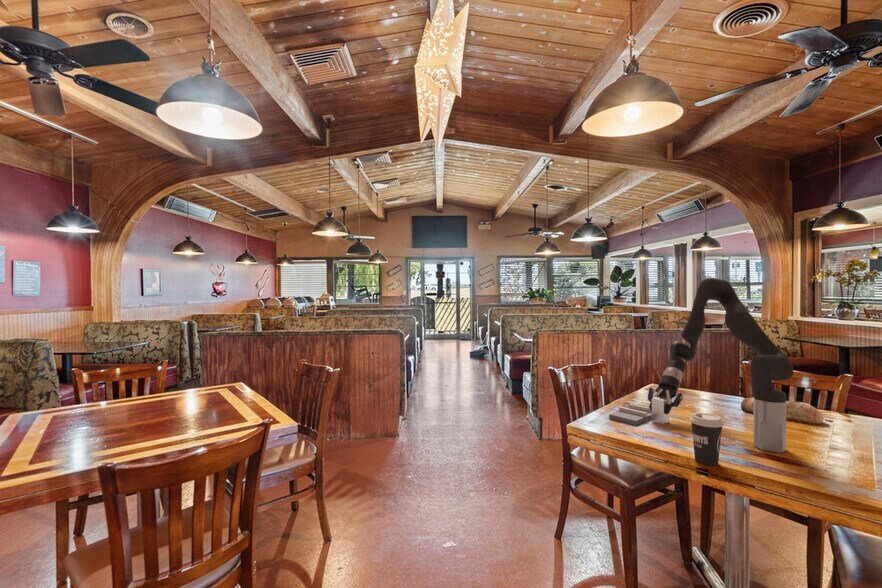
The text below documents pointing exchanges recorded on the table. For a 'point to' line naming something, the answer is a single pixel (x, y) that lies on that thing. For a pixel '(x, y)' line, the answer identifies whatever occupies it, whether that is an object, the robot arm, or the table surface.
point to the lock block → (659, 410)
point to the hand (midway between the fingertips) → (658, 411)
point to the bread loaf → (792, 411)
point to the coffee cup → (706, 437)
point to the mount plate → (632, 414)
